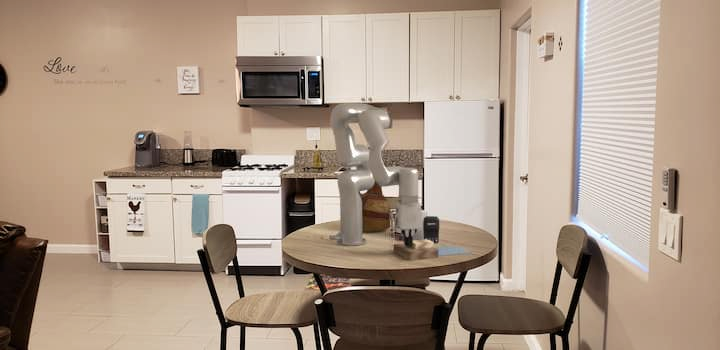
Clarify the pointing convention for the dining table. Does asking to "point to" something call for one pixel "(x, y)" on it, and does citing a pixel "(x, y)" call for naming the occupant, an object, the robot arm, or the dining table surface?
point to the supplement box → (419, 234)
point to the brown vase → (375, 210)
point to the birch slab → (422, 244)
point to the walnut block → (415, 252)
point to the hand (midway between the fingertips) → (408, 245)
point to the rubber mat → (451, 250)
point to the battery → (431, 228)
